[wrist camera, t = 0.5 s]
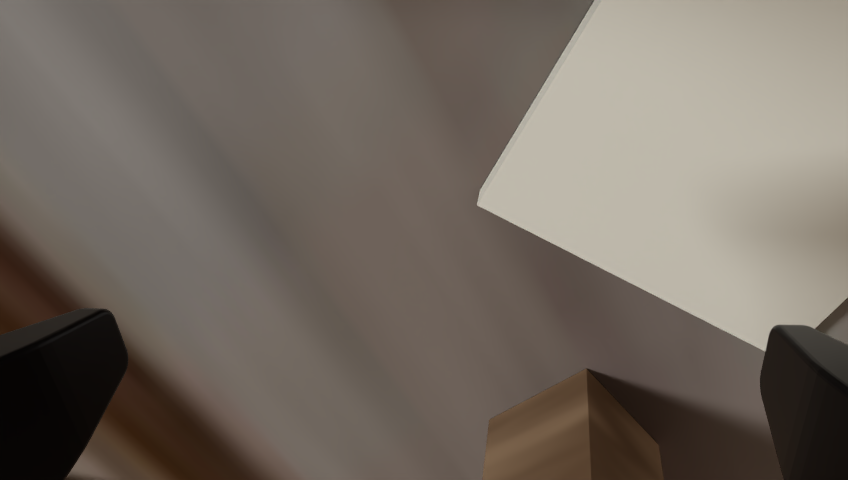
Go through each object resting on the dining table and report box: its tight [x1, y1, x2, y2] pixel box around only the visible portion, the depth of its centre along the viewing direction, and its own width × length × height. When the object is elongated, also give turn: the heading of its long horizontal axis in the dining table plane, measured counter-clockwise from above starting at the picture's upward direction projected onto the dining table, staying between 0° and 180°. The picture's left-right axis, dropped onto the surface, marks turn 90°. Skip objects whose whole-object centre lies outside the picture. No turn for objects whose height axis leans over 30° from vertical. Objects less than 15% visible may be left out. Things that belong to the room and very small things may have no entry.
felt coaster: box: [477, 0, 848, 351], centre depth 20 cm, size 11×11×1 cm
